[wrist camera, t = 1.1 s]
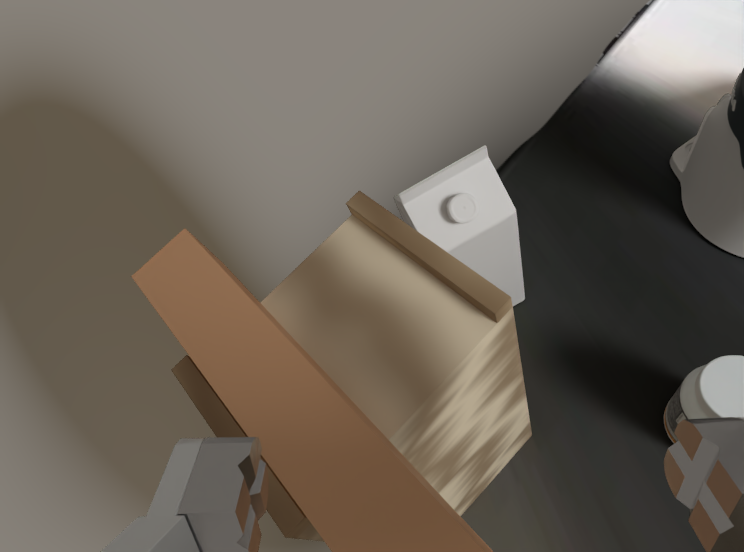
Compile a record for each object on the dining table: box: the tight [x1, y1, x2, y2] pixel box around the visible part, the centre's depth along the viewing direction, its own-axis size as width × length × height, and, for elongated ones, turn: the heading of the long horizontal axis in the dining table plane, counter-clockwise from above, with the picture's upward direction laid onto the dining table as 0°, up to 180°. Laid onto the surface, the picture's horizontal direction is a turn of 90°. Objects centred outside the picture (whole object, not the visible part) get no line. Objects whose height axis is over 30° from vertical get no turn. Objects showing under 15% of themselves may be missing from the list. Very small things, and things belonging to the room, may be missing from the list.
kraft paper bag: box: [172, 191, 532, 542], centre depth 34 cm, size 13×10×27 cm
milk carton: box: [394, 145, 525, 306], centre depth 44 cm, size 7×7×19 cm
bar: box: [132, 228, 493, 552], centre depth 21 cm, size 4×22×4 cm, turn 43°
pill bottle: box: [664, 355, 744, 444], centre depth 36 cm, size 6×6×10 cm
